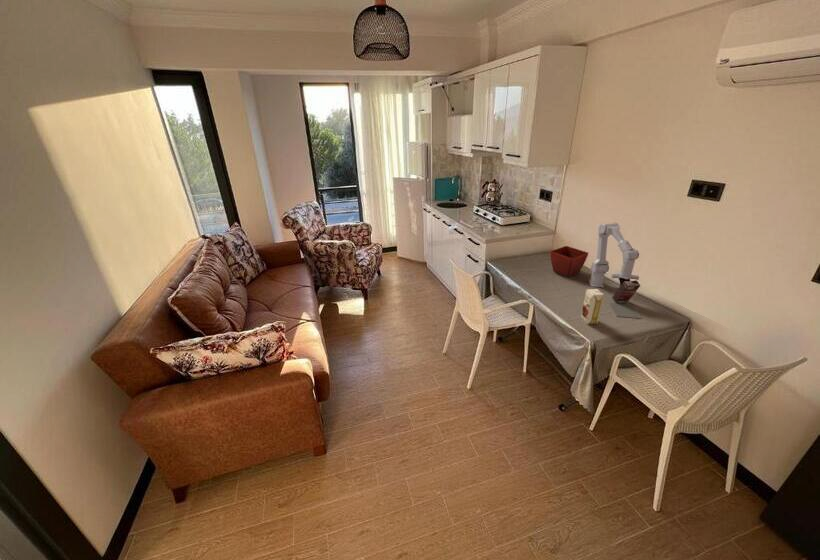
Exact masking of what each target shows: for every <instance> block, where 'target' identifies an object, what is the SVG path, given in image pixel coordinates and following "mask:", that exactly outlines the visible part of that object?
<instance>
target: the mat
mask: <svg viewBox="0 0 820 560" xmlns="http://www.w3.org/2000/svg"><path fill="white" fill-rule="evenodd" d="M608 304H609V306H610V307H611V309H612V310H613V312H614V314H615V316H616V317H618V318H627V319H628V318H629V319H640V320H642V319H643V317H642V315H641V314H640V312H639V311H638V309H637V308H636V307H635V305H634V304H631V303H615V302H609V303H608Z"/></svg>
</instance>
